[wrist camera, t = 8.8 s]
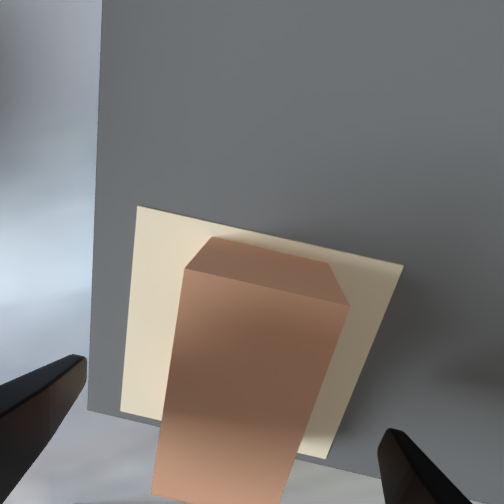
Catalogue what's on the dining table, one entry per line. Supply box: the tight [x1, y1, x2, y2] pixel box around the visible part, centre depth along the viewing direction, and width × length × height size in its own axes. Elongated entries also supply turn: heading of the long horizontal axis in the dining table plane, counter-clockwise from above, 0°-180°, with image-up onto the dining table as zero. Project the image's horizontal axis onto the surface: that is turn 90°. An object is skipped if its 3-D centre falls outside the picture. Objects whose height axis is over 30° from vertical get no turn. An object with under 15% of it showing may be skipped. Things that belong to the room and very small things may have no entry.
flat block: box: [151, 237, 350, 504], centre depth 9 cm, size 8×4×3 cm, turn 168°
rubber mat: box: [87, 0, 504, 504], centre depth 10 cm, size 20×18×1 cm
